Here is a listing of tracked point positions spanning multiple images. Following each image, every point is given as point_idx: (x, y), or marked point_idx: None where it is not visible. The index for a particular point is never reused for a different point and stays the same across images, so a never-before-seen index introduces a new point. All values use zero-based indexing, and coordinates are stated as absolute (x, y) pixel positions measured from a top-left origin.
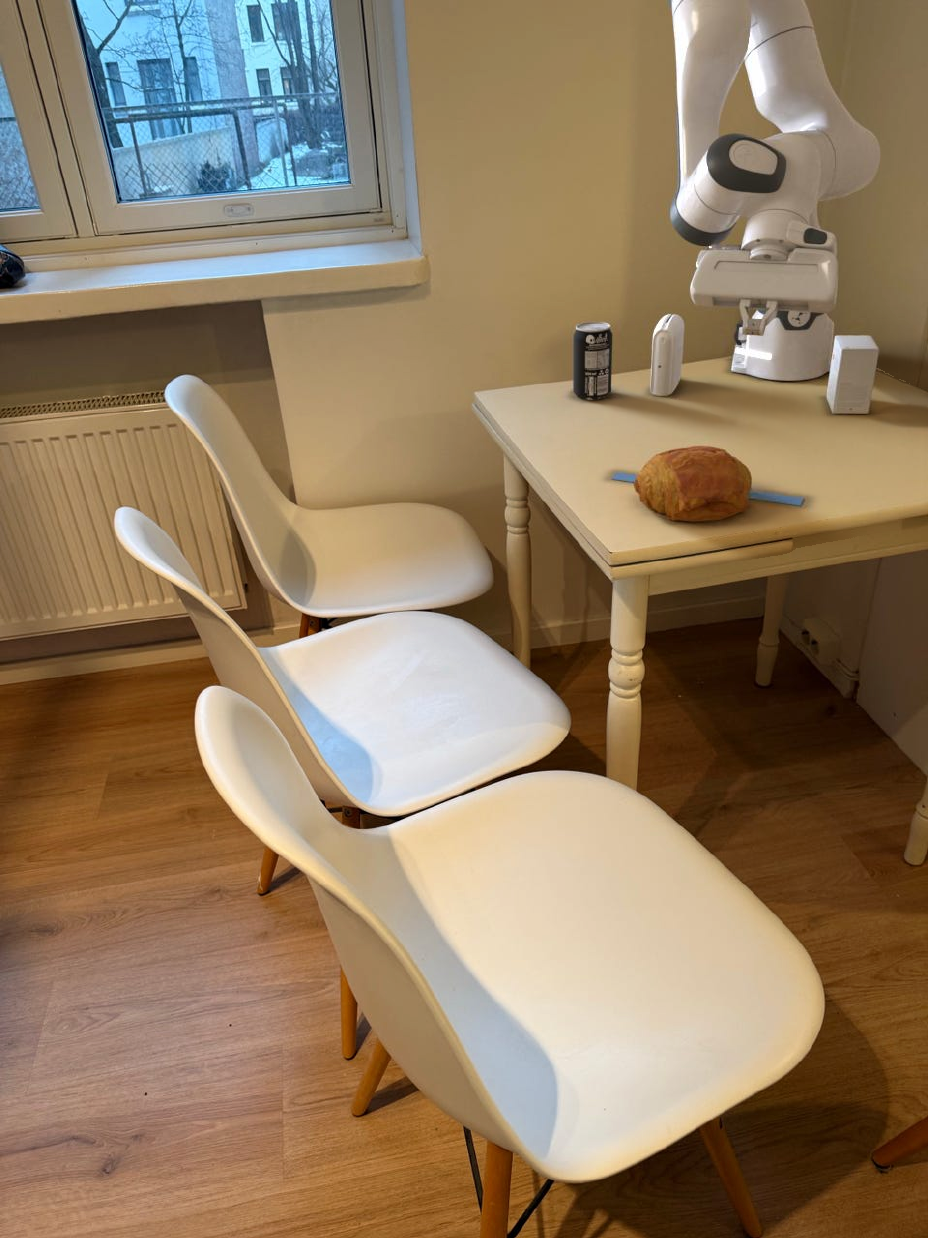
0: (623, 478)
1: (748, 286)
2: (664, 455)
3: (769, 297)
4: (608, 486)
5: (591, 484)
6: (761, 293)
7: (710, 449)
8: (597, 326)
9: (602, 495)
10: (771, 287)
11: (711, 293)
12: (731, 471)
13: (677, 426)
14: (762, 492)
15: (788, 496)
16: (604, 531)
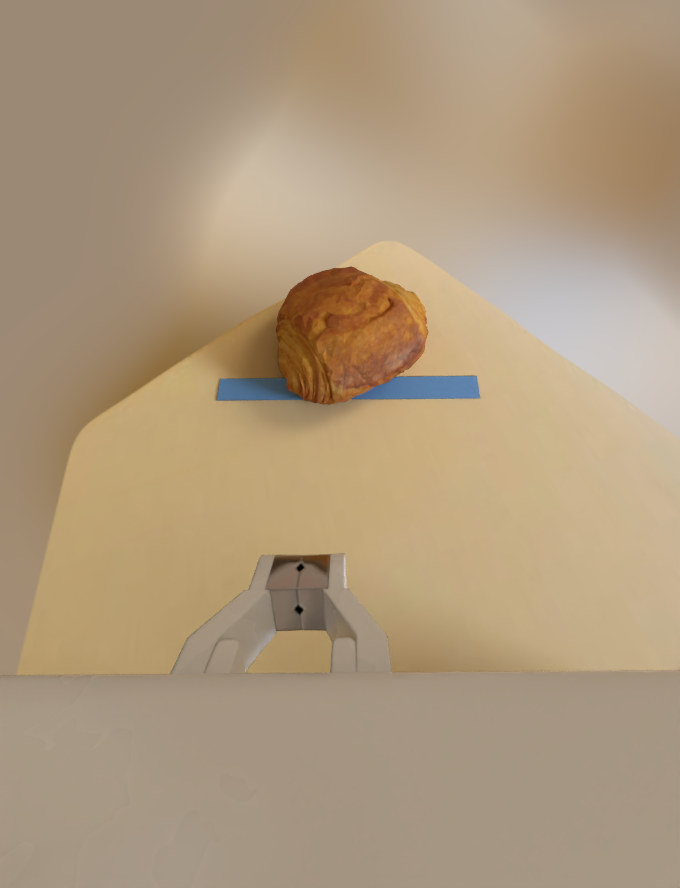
0: (461, 382)
1: (358, 745)
2: (394, 296)
3: (206, 674)
4: (469, 356)
5: (493, 354)
6: (254, 686)
7: (333, 320)
8: None
9: (462, 331)
10: (172, 748)
11: (606, 674)
12: (295, 302)
13: (479, 640)
14: (270, 399)
15: (236, 398)
16: (418, 262)
